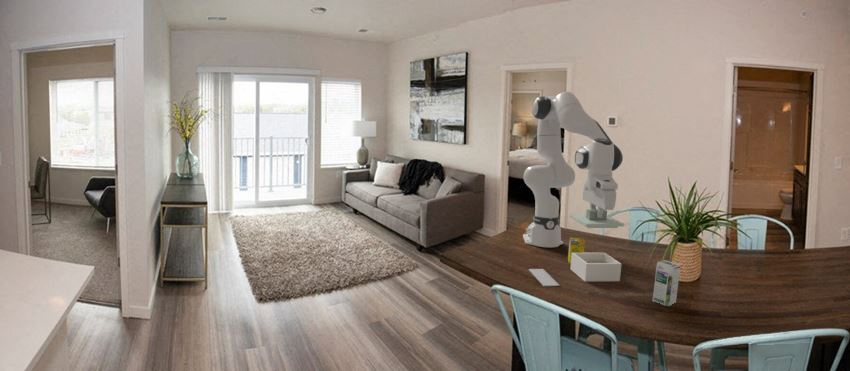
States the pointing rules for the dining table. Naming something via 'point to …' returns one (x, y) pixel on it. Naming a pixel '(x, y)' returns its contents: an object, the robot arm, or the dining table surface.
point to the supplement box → (575, 247)
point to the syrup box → (666, 282)
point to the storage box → (595, 267)
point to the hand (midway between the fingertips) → (596, 216)
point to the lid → (596, 220)
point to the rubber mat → (544, 277)
